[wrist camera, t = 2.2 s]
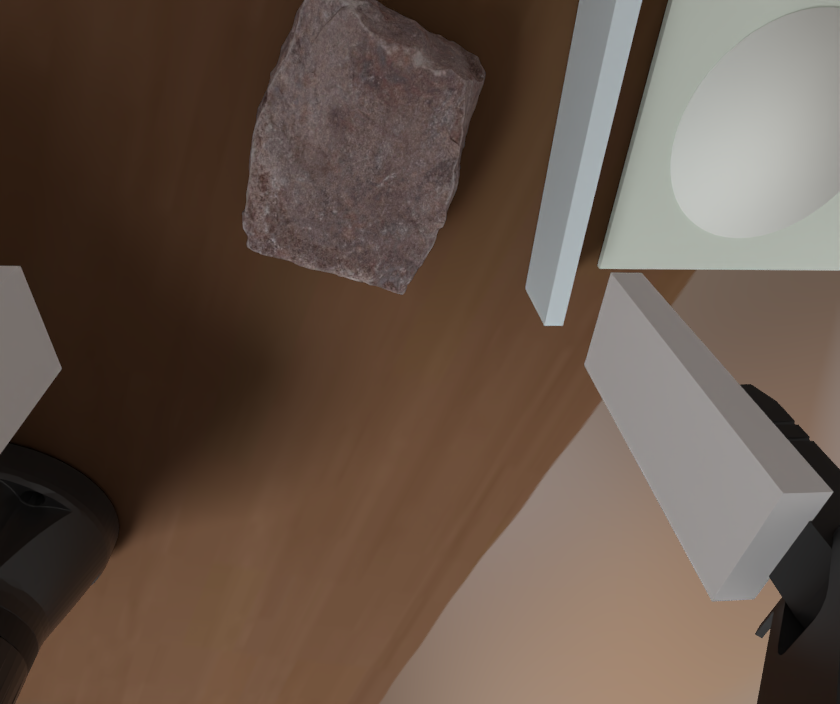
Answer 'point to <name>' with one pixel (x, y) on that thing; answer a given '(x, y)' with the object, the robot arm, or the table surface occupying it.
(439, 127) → the stone
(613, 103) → the acrylic wall
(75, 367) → the table surface
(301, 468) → the table surface
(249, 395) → the table surface
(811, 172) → the rest mat
